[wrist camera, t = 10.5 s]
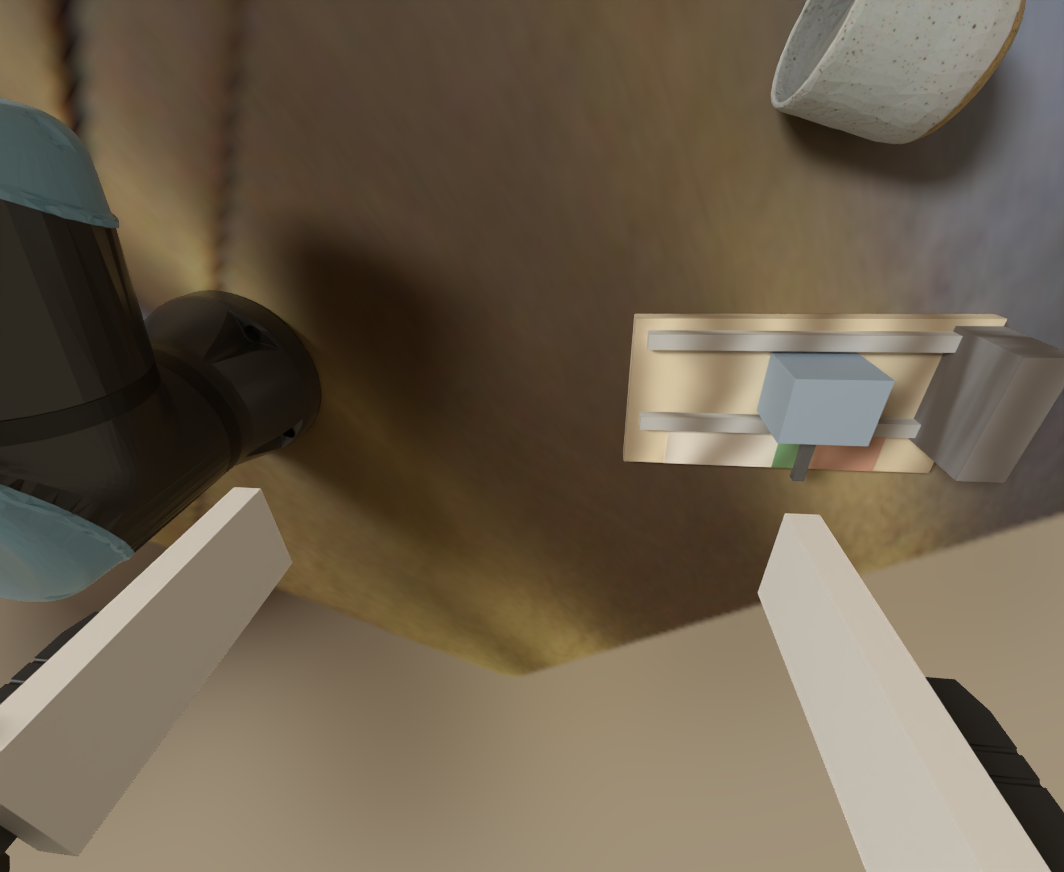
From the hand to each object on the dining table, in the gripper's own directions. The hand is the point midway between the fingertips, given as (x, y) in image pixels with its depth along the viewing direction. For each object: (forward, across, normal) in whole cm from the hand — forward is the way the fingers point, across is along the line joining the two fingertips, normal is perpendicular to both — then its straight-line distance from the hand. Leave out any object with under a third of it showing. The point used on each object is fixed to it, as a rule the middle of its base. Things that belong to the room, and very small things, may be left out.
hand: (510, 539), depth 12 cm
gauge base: (+27, +18, -8) cm, 33 cm away
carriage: (+25, +19, -9) cm, 33 cm away
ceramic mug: (+27, +17, +14) cm, 35 cm away
